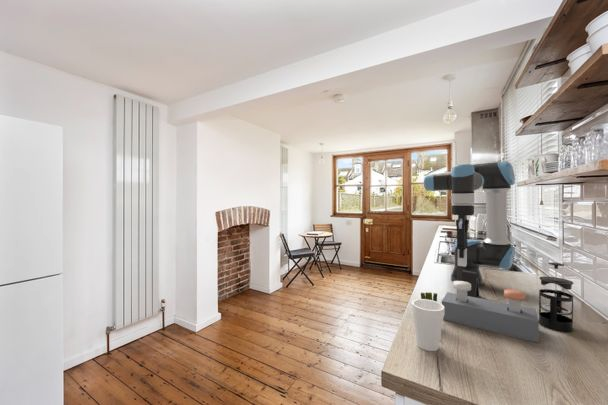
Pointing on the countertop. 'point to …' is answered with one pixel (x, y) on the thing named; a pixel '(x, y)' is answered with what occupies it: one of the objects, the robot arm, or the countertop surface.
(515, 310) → the orange ball knob
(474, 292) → the phone stand
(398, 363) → the countertop surface
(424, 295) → the fennel bulb
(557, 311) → the french press
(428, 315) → the foam cup
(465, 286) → the white rounded knob
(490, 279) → the countertop surface
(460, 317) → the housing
